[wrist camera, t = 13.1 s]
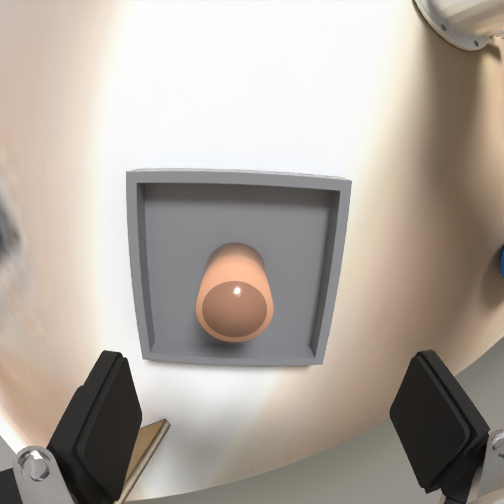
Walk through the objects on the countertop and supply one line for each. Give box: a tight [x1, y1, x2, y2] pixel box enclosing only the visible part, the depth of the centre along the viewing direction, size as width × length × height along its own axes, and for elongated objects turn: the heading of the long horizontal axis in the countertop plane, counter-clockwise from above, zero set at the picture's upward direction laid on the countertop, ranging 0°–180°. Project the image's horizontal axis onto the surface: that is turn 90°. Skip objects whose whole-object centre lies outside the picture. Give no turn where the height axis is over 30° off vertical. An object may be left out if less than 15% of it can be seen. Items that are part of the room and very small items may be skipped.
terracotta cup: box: [196, 243, 274, 342], centre depth 27 cm, size 6×6×8 cm
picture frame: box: [114, 419, 170, 504], centre depth 26 cm, size 33×10×30 cm, turn 124°
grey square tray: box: [126, 169, 352, 366], centre depth 30 cm, size 20×20×4 cm
